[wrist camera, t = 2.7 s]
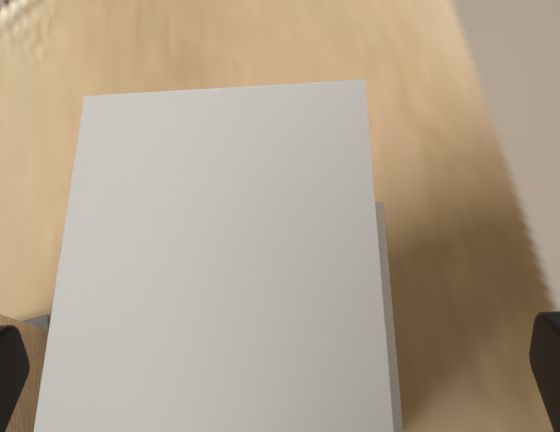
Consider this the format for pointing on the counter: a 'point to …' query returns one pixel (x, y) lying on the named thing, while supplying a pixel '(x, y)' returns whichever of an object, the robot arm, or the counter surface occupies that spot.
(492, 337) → the counter surface
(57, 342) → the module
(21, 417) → the mounting plate
